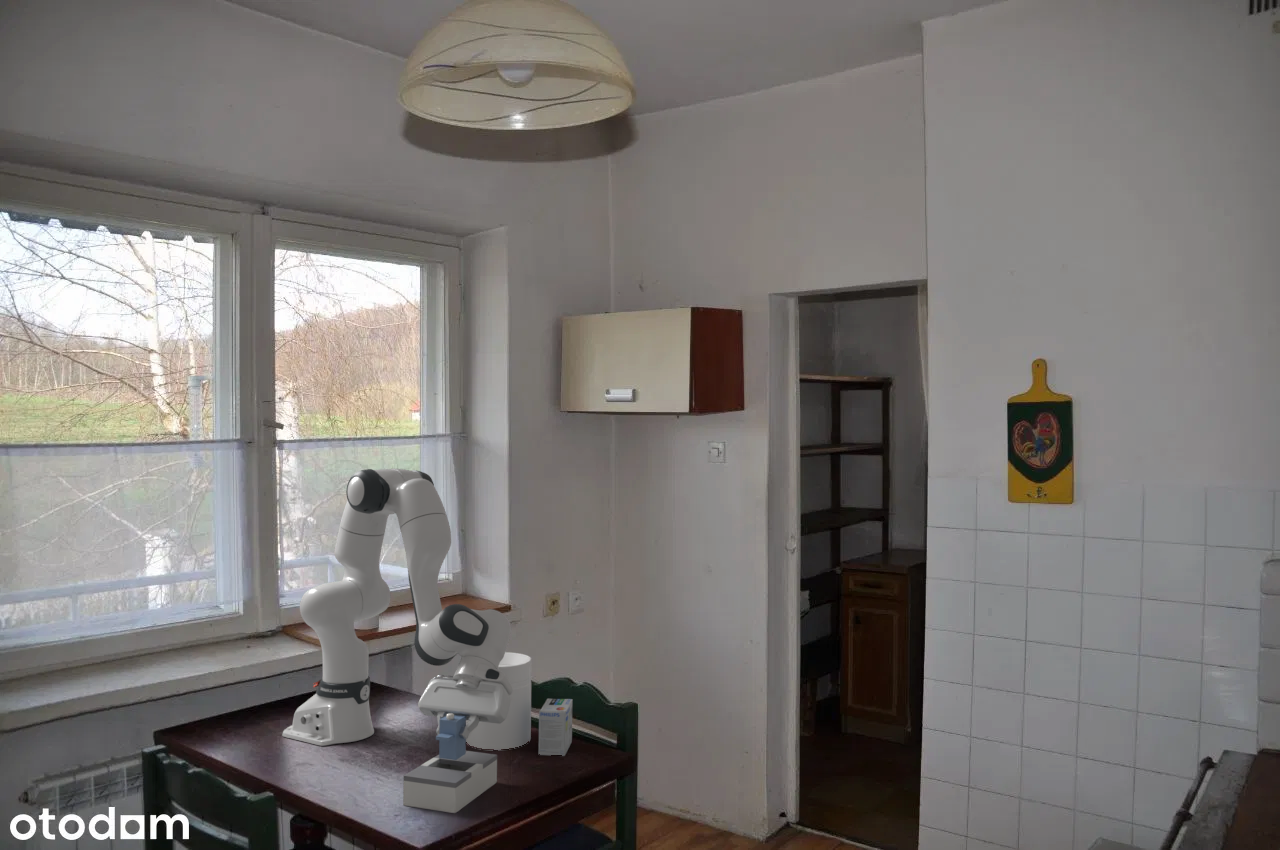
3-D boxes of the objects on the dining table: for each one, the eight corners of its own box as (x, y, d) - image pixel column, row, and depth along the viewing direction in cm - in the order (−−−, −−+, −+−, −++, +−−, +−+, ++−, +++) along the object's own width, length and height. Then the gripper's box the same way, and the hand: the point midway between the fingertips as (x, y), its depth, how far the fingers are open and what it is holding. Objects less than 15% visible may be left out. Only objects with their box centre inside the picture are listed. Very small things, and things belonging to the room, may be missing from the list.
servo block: (433, 761, 194) (433, 717, 194) (454, 748, 202) (454, 706, 202) (450, 763, 193) (450, 719, 193) (470, 750, 201) (471, 708, 201)
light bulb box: (546, 741, 232) (546, 697, 233) (572, 742, 232) (573, 698, 232) (537, 755, 222) (538, 709, 222) (565, 756, 221) (566, 710, 221)
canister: (493, 726, 244) (494, 649, 244) (543, 736, 236) (544, 657, 236) (452, 743, 230) (453, 661, 230) (503, 754, 222) (504, 670, 222)
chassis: (403, 805, 191) (403, 775, 191) (448, 775, 208) (448, 748, 208) (455, 813, 187) (455, 783, 187) (496, 782, 204) (497, 754, 204)
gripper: (427, 666, 208) (402, 723, 198) (510, 674, 201) (488, 733, 192) (438, 682, 212) (414, 738, 202) (519, 689, 205) (498, 748, 196)
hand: (451, 735), depth 197 cm, fingers closed on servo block, 4 cm apart
